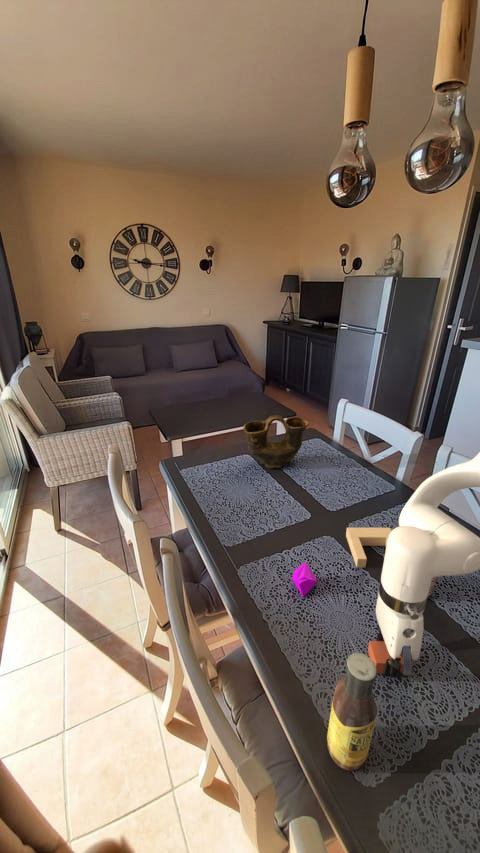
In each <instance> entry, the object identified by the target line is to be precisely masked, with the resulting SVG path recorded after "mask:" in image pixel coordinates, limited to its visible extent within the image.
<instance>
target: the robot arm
mask: <svg viewBox="0 0 480 853" xmlns="http://www.w3.org/2000/svg"><path fill="white" fill-rule="evenodd" d="M468 488H469V489H470V488H480V451H479V452H478V453H477V454H476V455H475V456H474V457H473V458H472V459H469V460H468V461H465V462H461V463H458V464H457V463H456V464H455V465H451V466H448V467H446V468H444V469H442V470H439V471H437V472H436V473H434V474H432V475H430V476H429V477H427V478H426V479H425V480H423V482H422V483H420V484H419V486H418V487H417V488H416V489H415V491H414V492H413V493H412V495H411V496H410V497H409V499H407V502H406V503H405V504H404V506H403V508H402V509H401V512H400V514H399V517H398V526H397V527H395V528H393V529H391V532H390V534H389V536H388V540H387V546H386V547H385V551H384V552H385V553H384V558H383V564H382V569H381V575H380V581H379V586H378V595H377V599H376V605H375V616H376V620H377V623H378V625H377V634H376V640H375V641H385V644H386V647H387V649H388V652H389V659H386V664H385V668H384V673H383V675H384V676H385V677H391V678H400V677H402V676H411V677H412V675H413V673H412V661H418V660H419V657H420V655H421V649H422V643H423V637H424V614H423V613H424V612H425V609H426V605H427V601H428V598H429V597H428V593H429V589H430V585H431V581H432V578H433V577H436V576H437V577H449V576H450V577H451V576H461V575H466V574H472V573H475V572H477V571H478V570H480V537H479V536H478V535H476V534H475V533H474V532H473V531H471V530H469V529H468V528H466V527H465V526H464V525H462V524H460V523H459V522H458V521H457V520H455V519H454V518H453V517H451V516H449V515H448V514H446V513H445V512H444V511H443V510H441V509H440V508H438V507H439V506H440V505H441V503H442V502H444V501H445V499H446V498H447V497H449V496H450V495H451V494H453V493H455V492H457V491H460V490H464V489H468ZM437 577H436V578H437ZM399 655H401V658H396V657H398V656H399Z"/></svg>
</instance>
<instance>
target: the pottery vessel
mask: <svg viewBox="0 0 480 853" xmlns="http://www.w3.org/2000/svg"><path fill="white" fill-rule="evenodd" d="M275 421H278V422H280V423H281V424H282V425H283V427H284V430H285V433H284V434H285V435H284V437H283V439H282V440H273V441H272V440H269V439H268V432H269V430H270V426H271V425H273V422H275ZM309 425H310V422H309V421H307V419H306V420H305V419H303V418H301V417H290V418H286V419H284V418H283V416H281V415H278V414H275V415H270V416H269V417H268V418H267V419H266V420H258V419H256V420H253V421H249V422H246V423H245V424H243V428H242V429H243V432H244V433H245V438H246V441H247V450H248V453H249V455H251V456H252V457H254V458H256V459H258V460H259V462H260V464H261V465H263V464H264V467H266V468H267V469H281V467H283V466H284V465H287V464H290V462H291V461H292V460H293V459H294V458H296V455H297V454H298V453H299V452H300V449H301V447H302V445H303V439H302V438H303V435H304V432H305V431H306V429H307V428H308V426H309Z"/></svg>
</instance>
